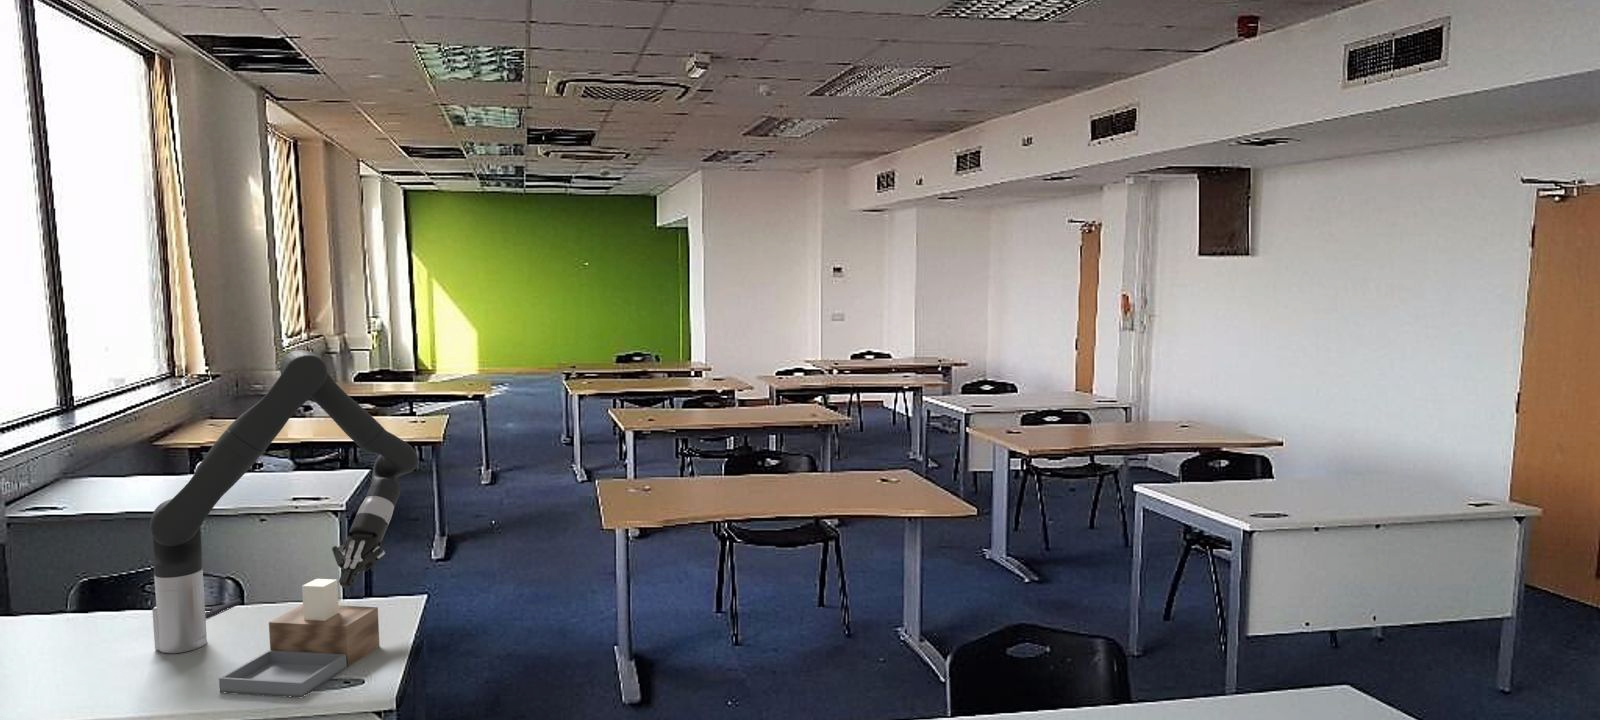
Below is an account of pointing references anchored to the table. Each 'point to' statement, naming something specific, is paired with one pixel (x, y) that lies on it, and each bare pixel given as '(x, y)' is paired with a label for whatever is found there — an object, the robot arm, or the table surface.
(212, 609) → the bracket
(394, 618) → the table surface
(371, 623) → the walnut platform
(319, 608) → the cream block
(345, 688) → the table surface
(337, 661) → the box
